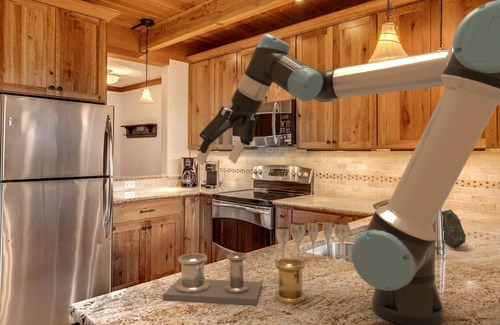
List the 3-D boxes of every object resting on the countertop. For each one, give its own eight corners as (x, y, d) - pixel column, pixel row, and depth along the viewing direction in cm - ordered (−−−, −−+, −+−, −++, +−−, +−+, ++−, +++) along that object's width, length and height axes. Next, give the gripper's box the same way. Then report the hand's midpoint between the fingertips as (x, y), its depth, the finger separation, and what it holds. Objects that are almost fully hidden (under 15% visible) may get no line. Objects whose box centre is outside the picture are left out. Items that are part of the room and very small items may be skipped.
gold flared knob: (305, 292, 94) (305, 259, 94) (305, 304, 87) (305, 267, 86) (276, 291, 95) (276, 258, 95) (274, 302, 88) (274, 266, 88)
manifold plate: (262, 287, 98) (262, 282, 98) (256, 305, 86) (256, 299, 86) (179, 283, 102) (179, 278, 102) (163, 300, 90) (162, 294, 90)
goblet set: (279, 265, 118) (279, 226, 118) (273, 260, 123) (273, 223, 123) (353, 258, 126) (353, 221, 125) (344, 254, 131) (344, 218, 131)
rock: (443, 249, 148) (433, 216, 152) (459, 247, 146) (448, 213, 151) (452, 247, 132) (441, 209, 136) (470, 244, 130) (458, 206, 135)
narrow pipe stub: (250, 285, 96) (250, 252, 96) (246, 294, 89) (246, 258, 89) (227, 284, 97) (227, 251, 96) (222, 292, 90) (221, 257, 90)
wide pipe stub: (213, 281, 99) (213, 253, 98) (204, 294, 90) (204, 262, 90) (182, 280, 100) (182, 252, 100) (170, 292, 91) (170, 261, 91)
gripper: (266, 93, 104) (235, 153, 111) (208, 80, 84) (175, 154, 91) (284, 106, 100) (251, 167, 108) (228, 95, 80) (192, 171, 88)
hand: (216, 161), depth 100 cm, fingers open, 13 cm apart
